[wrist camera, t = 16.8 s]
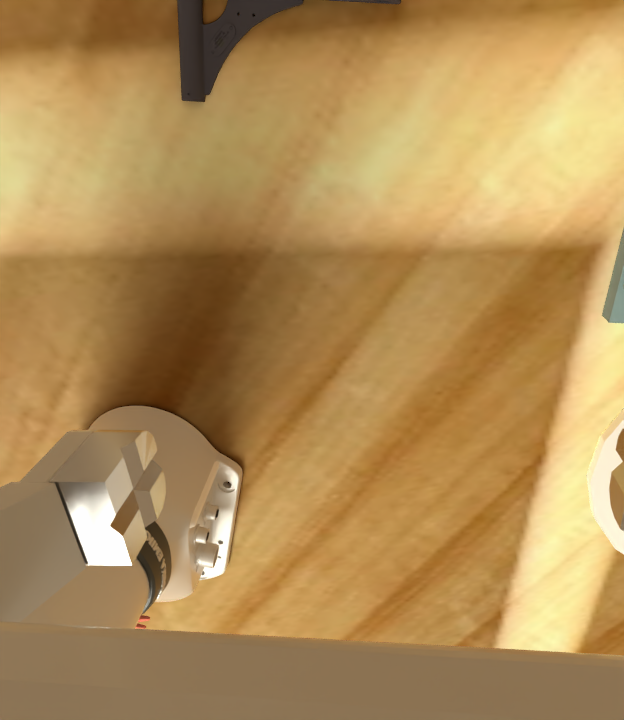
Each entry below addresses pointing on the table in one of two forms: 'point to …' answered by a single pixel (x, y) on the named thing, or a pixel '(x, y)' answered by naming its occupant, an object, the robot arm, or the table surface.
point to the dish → (606, 481)
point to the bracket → (220, 38)
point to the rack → (616, 290)
